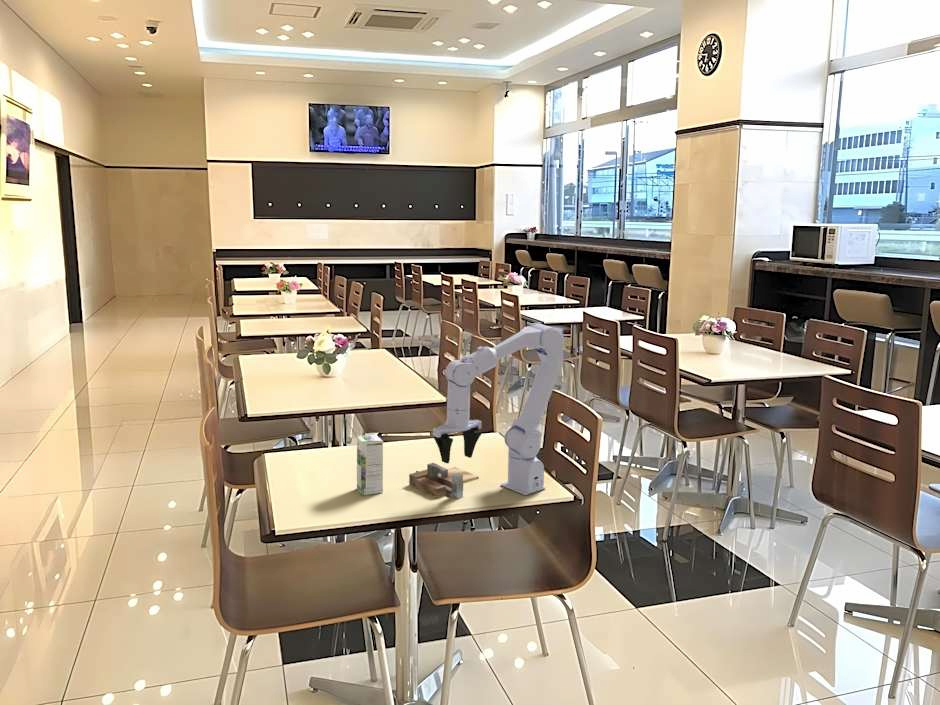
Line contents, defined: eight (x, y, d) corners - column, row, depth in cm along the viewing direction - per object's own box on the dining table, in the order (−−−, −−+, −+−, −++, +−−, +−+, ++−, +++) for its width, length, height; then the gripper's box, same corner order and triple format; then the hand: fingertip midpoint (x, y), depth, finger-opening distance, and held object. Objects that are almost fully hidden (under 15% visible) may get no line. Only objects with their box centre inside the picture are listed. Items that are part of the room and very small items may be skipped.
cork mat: (478, 478, 213) (478, 476, 213) (456, 484, 208) (456, 483, 207) (455, 468, 220) (455, 467, 220) (433, 474, 215) (433, 473, 215)
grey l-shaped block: (462, 497, 199) (462, 474, 198) (456, 498, 198) (456, 476, 196) (445, 489, 204) (445, 467, 203) (439, 491, 203) (439, 469, 202)
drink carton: (356, 488, 204) (355, 435, 201) (377, 485, 206) (377, 433, 203) (362, 496, 199) (361, 442, 196) (384, 493, 201) (383, 439, 198)
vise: (463, 489, 204) (463, 468, 203) (437, 497, 198) (437, 475, 197) (429, 475, 214) (429, 454, 213) (404, 482, 209) (403, 461, 208)
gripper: (469, 400, 203) (468, 450, 205) (426, 408, 193) (424, 460, 196) (487, 406, 197) (485, 457, 200) (443, 414, 188) (442, 468, 190)
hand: (456, 459), depth 197 cm, fingers open, 7 cm apart
